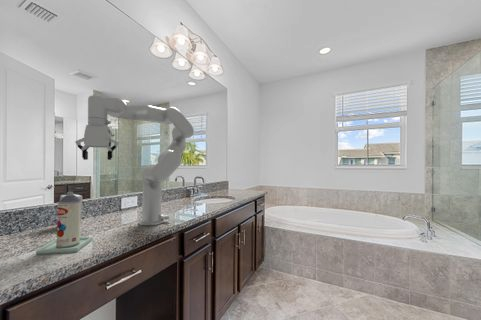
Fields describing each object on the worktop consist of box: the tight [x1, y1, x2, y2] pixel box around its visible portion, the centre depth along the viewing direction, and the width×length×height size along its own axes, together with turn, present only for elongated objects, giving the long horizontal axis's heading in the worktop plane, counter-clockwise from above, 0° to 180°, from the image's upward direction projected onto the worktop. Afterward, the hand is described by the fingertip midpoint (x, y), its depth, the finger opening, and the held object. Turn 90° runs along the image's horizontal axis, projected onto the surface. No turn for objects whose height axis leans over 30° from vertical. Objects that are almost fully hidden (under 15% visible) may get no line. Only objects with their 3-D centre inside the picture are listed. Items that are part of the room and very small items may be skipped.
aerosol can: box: [55, 191, 82, 249], centre depth 79 cm, size 7×7×20 cm
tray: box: [35, 236, 94, 256], centre depth 79 cm, size 12×12×2 cm
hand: (97, 159), depth 98 cm, fingers open, 9 cm apart
